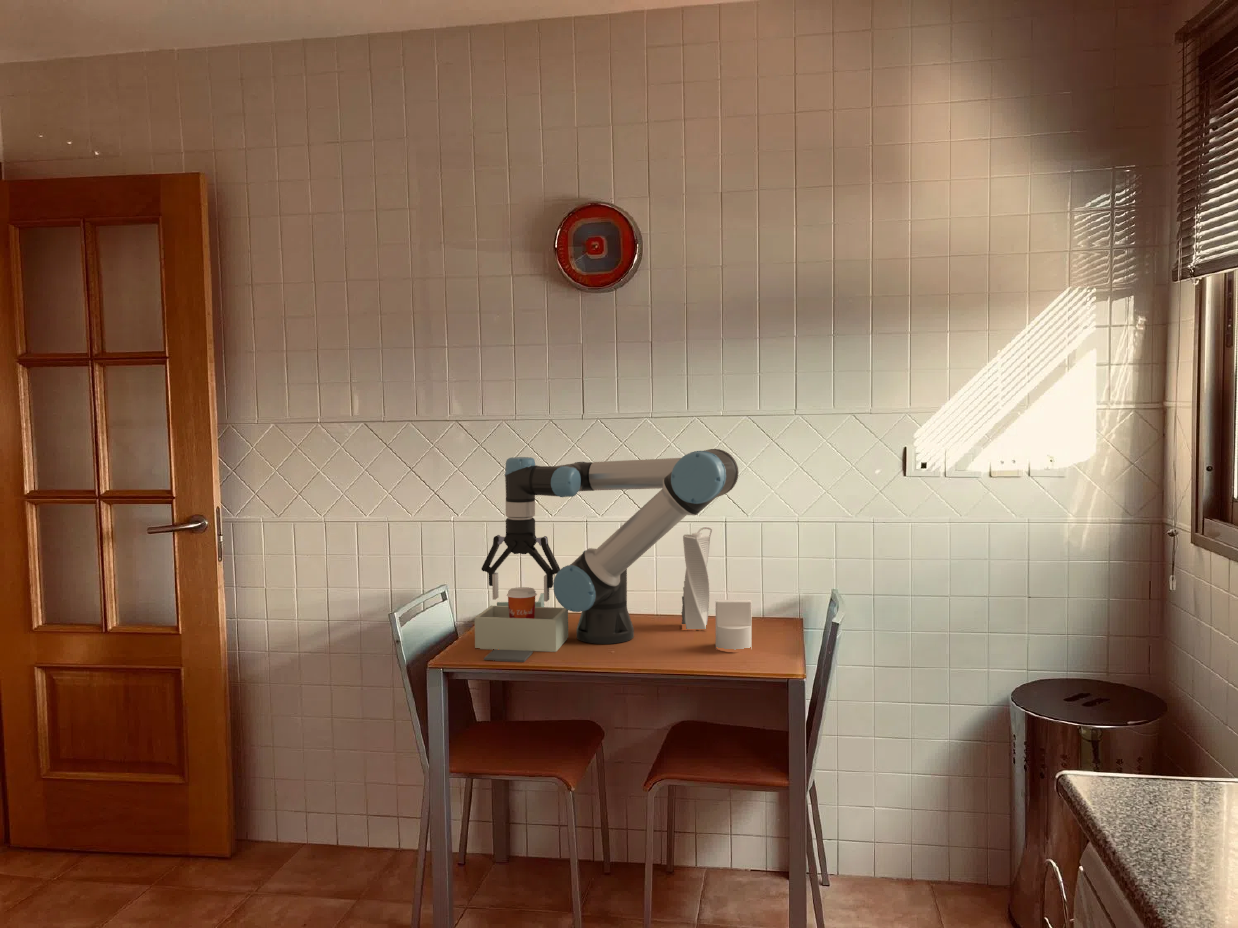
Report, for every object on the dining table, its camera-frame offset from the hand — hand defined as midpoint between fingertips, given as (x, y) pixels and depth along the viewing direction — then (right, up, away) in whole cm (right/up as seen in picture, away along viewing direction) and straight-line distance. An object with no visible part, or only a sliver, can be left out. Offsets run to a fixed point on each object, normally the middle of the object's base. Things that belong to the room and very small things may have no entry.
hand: (521, 599), depth 249 cm
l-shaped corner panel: (-2, -10, +21) cm, 24 cm away
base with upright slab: (+54, -12, -5) cm, 56 cm away
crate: (0, -11, +1) cm, 11 cm away
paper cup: (0, -12, +1) cm, 12 cm away
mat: (-2, -12, -12) cm, 17 cm away
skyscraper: (+46, -10, +15) cm, 50 cm away
